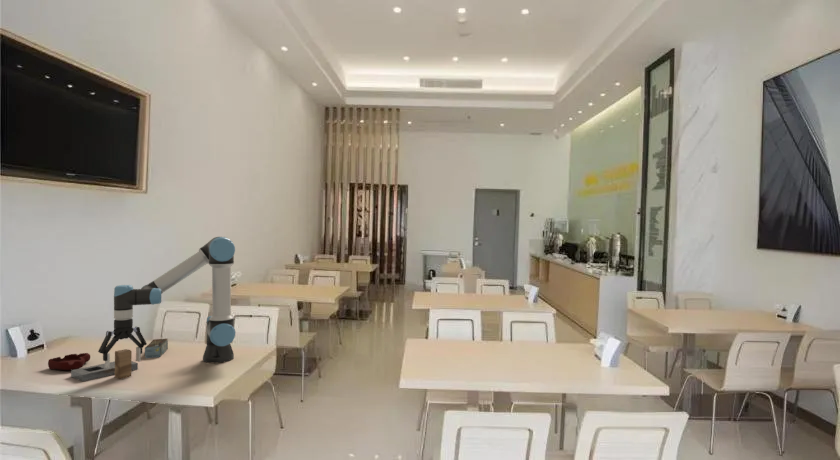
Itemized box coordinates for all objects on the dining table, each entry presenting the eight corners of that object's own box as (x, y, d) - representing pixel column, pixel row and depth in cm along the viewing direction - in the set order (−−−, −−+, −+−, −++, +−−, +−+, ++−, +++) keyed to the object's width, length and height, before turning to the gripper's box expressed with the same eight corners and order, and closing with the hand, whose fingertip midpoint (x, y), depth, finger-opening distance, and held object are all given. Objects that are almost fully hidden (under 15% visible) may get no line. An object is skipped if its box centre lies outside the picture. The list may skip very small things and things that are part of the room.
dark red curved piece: (54, 364, 252) (54, 354, 252) (92, 361, 258) (92, 352, 258) (41, 374, 235) (41, 364, 235) (82, 371, 241) (82, 361, 241)
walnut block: (131, 376, 233) (131, 350, 233) (120, 379, 229) (120, 352, 229) (126, 374, 236) (126, 349, 236) (114, 377, 232) (114, 351, 232)
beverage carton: (143, 358, 265) (143, 346, 265) (152, 350, 283) (152, 338, 283) (160, 357, 267) (160, 345, 267) (168, 349, 286) (168, 337, 286)
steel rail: (137, 369, 245) (137, 363, 245) (82, 381, 225) (82, 374, 225) (125, 365, 251) (125, 359, 251) (71, 376, 232) (71, 370, 232)
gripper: (146, 314, 245) (146, 357, 245) (89, 321, 224) (89, 369, 224) (154, 315, 240) (154, 359, 241) (97, 323, 220) (97, 372, 220)
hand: (123, 364), depth 232 cm, fingers open, 13 cm apart
